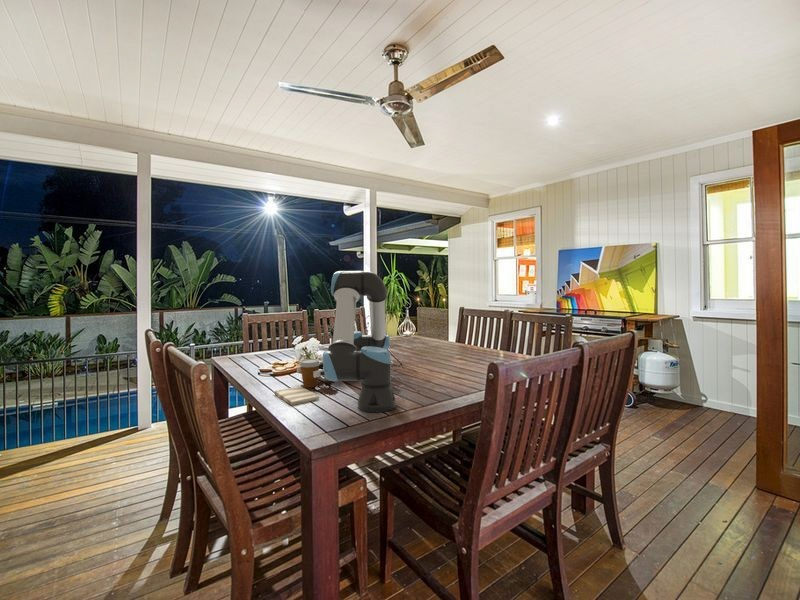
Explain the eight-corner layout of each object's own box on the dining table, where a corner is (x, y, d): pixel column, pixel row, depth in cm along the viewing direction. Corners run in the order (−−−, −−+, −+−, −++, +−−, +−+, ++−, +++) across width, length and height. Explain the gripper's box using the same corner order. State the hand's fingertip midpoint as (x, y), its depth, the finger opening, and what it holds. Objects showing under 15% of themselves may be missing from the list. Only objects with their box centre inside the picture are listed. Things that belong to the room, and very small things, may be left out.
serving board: (319, 399, 160) (318, 395, 160) (291, 405, 153) (291, 401, 153) (300, 389, 175) (300, 386, 175) (274, 394, 168) (274, 391, 168)
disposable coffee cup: (313, 389, 175) (313, 363, 174) (295, 387, 178) (295, 362, 177) (324, 383, 184) (323, 359, 183) (307, 382, 187) (306, 358, 186)
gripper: (357, 375, 186) (321, 384, 171) (326, 367, 203) (291, 375, 187) (357, 360, 186) (321, 368, 170) (325, 354, 203) (290, 360, 187)
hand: (305, 372), depth 179 cm, fingers open, 13 cm apart
